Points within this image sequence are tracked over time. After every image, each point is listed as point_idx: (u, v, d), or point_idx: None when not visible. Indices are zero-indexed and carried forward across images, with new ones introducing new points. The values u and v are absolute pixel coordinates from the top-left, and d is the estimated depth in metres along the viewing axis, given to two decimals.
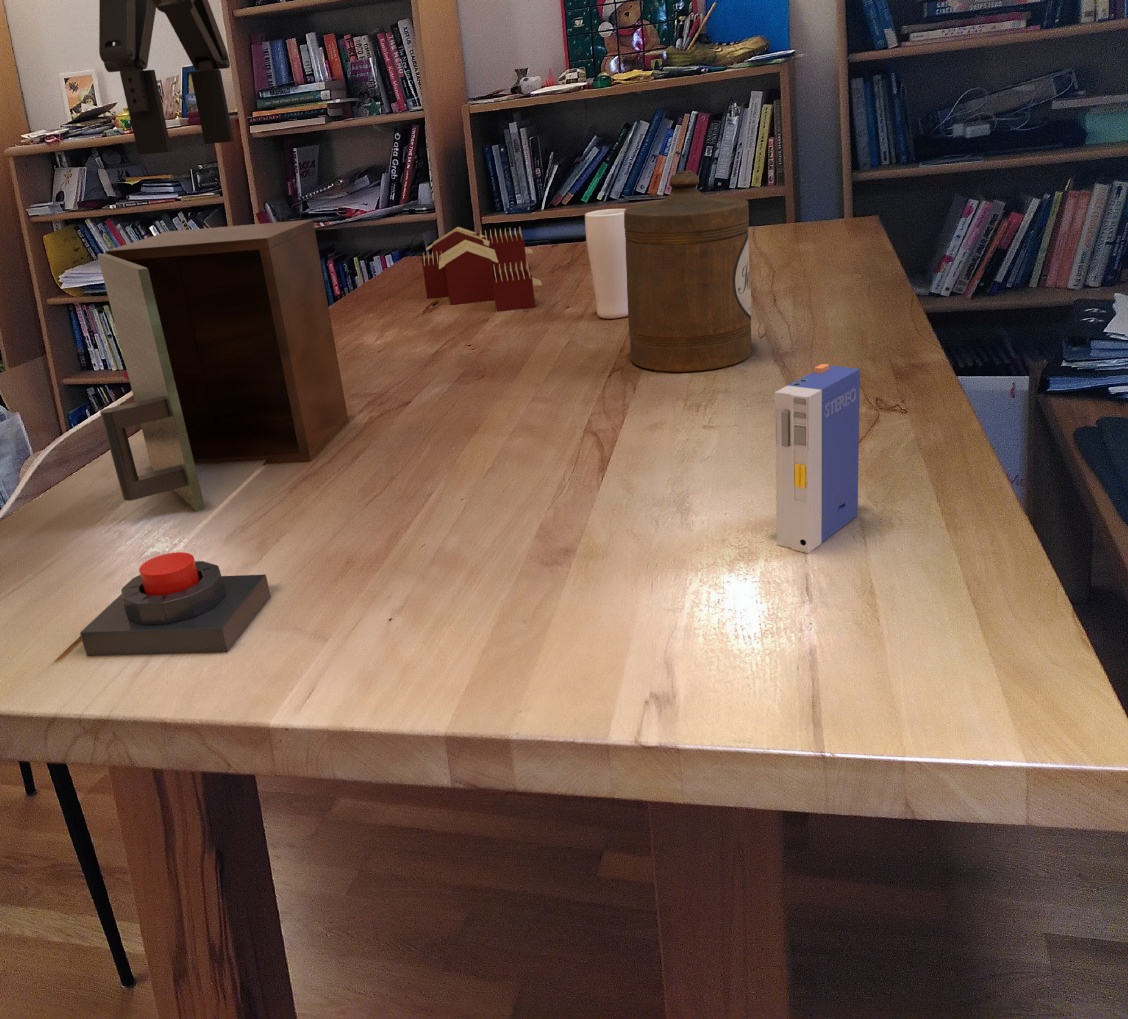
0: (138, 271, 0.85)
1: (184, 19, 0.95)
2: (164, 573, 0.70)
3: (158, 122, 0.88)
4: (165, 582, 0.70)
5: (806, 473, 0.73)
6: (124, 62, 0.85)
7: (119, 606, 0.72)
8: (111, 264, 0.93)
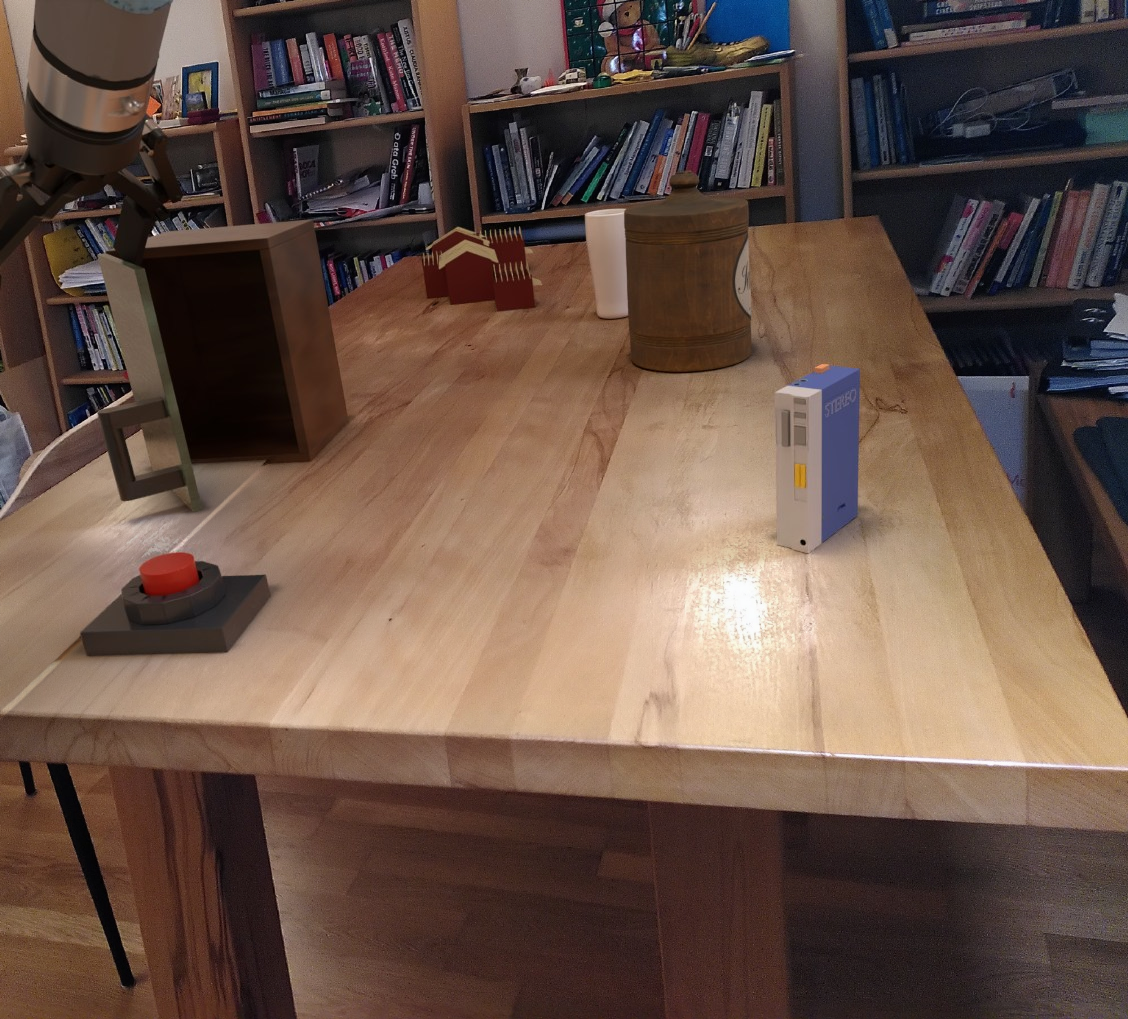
0: (135, 272, 0.85)
1: None
2: (164, 573, 0.70)
3: None
4: (165, 582, 0.70)
5: (806, 473, 0.73)
6: None
7: (119, 606, 0.72)
8: (110, 264, 0.93)
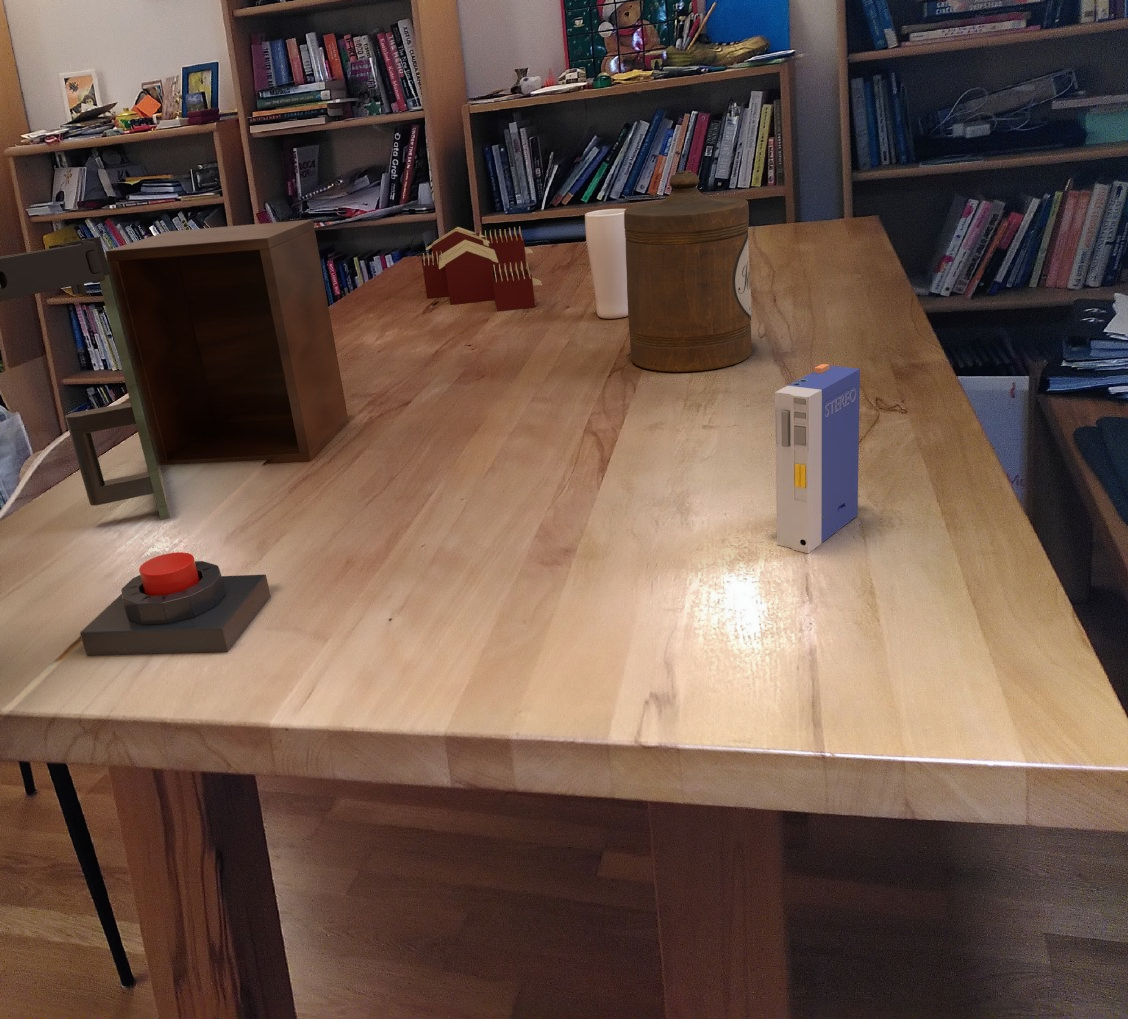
0: None
1: None
2: (164, 573, 0.70)
3: None
4: (165, 582, 0.70)
5: (806, 473, 0.73)
6: None
7: (119, 606, 0.72)
8: None
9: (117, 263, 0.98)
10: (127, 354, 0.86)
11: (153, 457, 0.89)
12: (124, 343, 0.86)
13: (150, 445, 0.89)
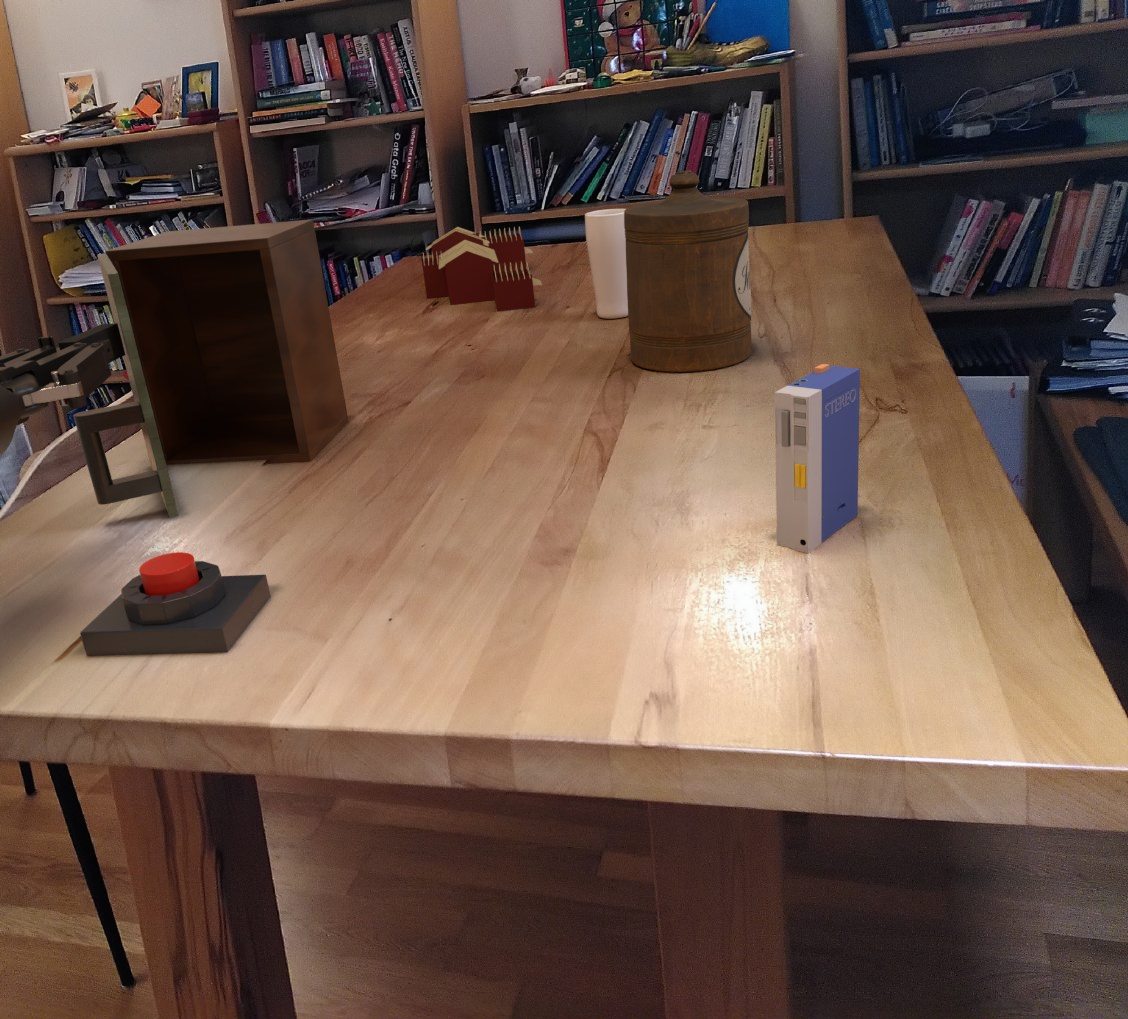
0: (108, 276, 0.84)
1: None
2: (164, 573, 0.70)
3: None
4: (165, 582, 0.70)
5: (806, 473, 0.73)
6: None
7: (119, 606, 0.72)
8: (101, 265, 0.93)
9: (117, 263, 0.98)
10: (136, 352, 0.86)
11: (162, 455, 0.90)
12: (133, 341, 0.86)
13: (159, 443, 0.89)
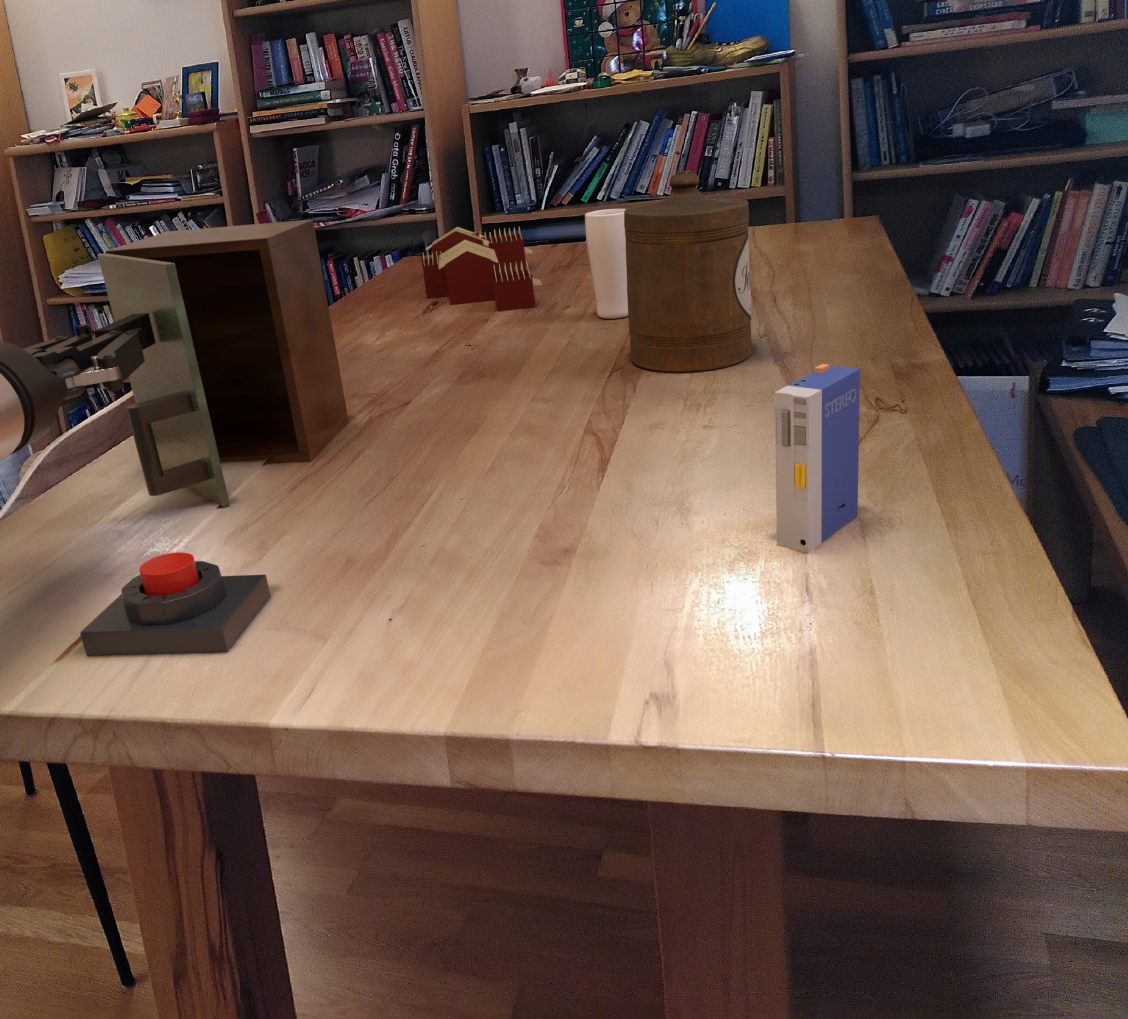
0: (166, 266, 0.86)
1: None
2: (164, 573, 0.70)
3: None
4: (165, 582, 0.70)
5: (806, 473, 0.73)
6: None
7: (119, 606, 0.72)
8: (120, 263, 0.93)
9: None
10: (191, 341, 0.89)
11: (214, 442, 0.92)
12: (189, 330, 0.88)
13: (212, 430, 0.92)
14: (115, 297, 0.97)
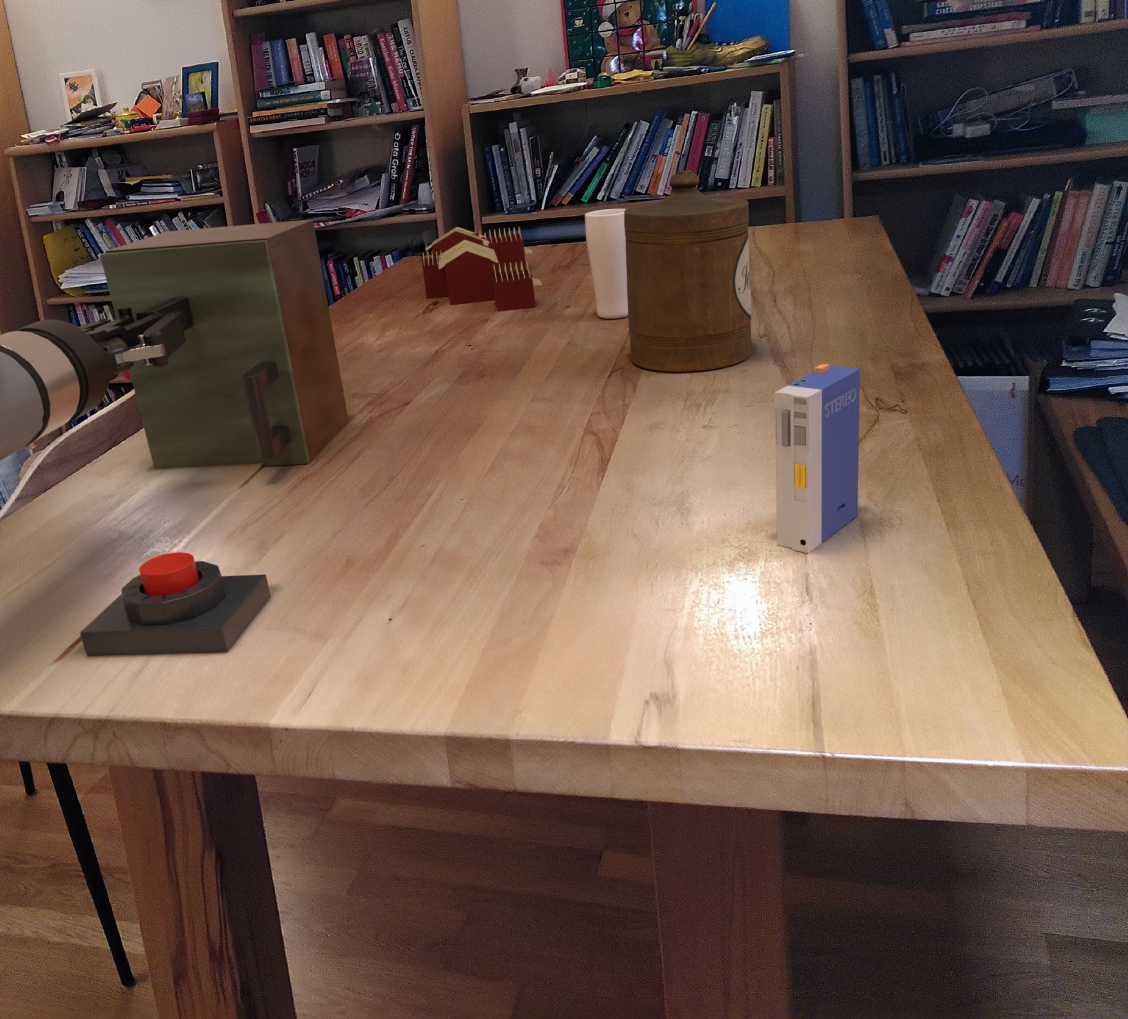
0: (263, 242, 0.95)
1: None
2: (164, 573, 0.70)
3: None
4: (165, 582, 0.70)
5: (806, 473, 0.73)
6: None
7: (119, 606, 0.72)
8: (158, 254, 0.96)
9: None
10: (280, 311, 0.98)
11: (298, 403, 1.02)
12: None
13: (296, 392, 1.01)
14: (129, 294, 0.98)
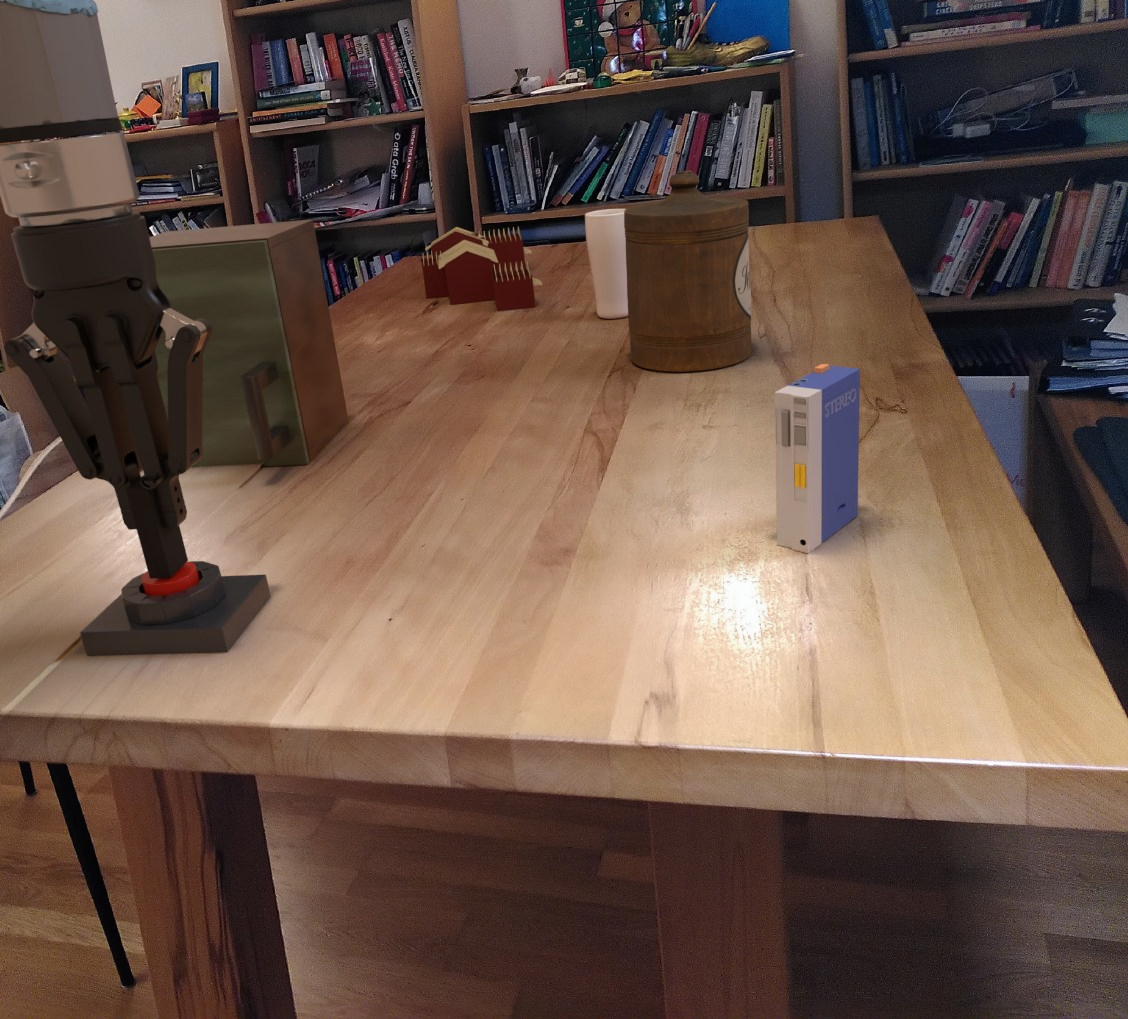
0: (263, 243, 0.95)
1: None
2: (166, 582, 0.70)
3: (142, 544, 0.70)
4: (168, 591, 0.70)
5: (806, 473, 0.73)
6: None
7: (119, 606, 0.72)
8: (157, 254, 0.96)
9: None
10: (280, 311, 0.98)
11: None
12: (278, 301, 0.98)
13: None
14: None
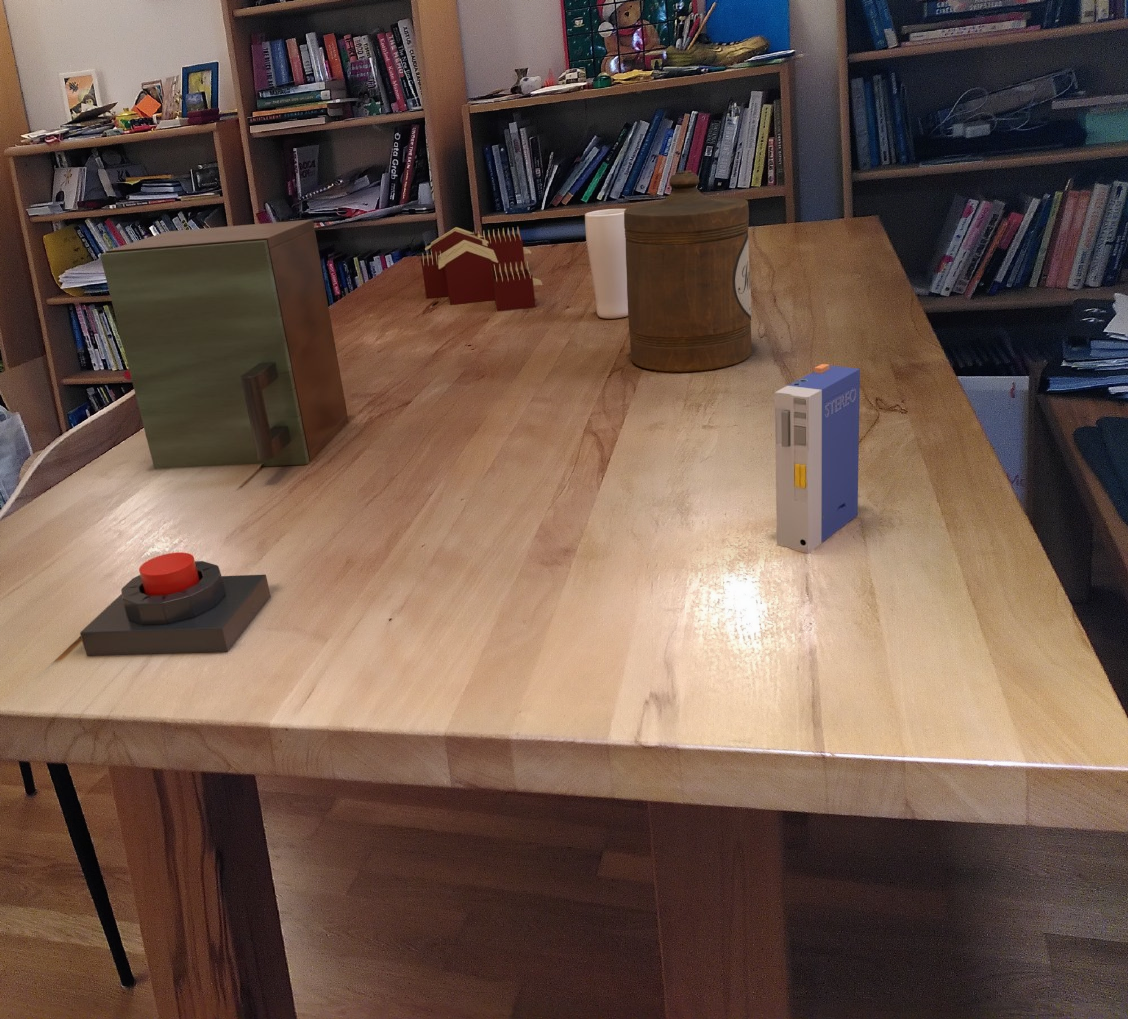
0: (263, 243, 0.95)
1: None
2: (164, 573, 0.70)
3: None
4: (165, 582, 0.70)
5: (806, 473, 0.73)
6: None
7: (119, 606, 0.72)
8: (157, 254, 0.96)
9: None
10: (280, 311, 0.98)
11: None
12: (278, 301, 0.98)
13: None
14: (129, 294, 0.98)
